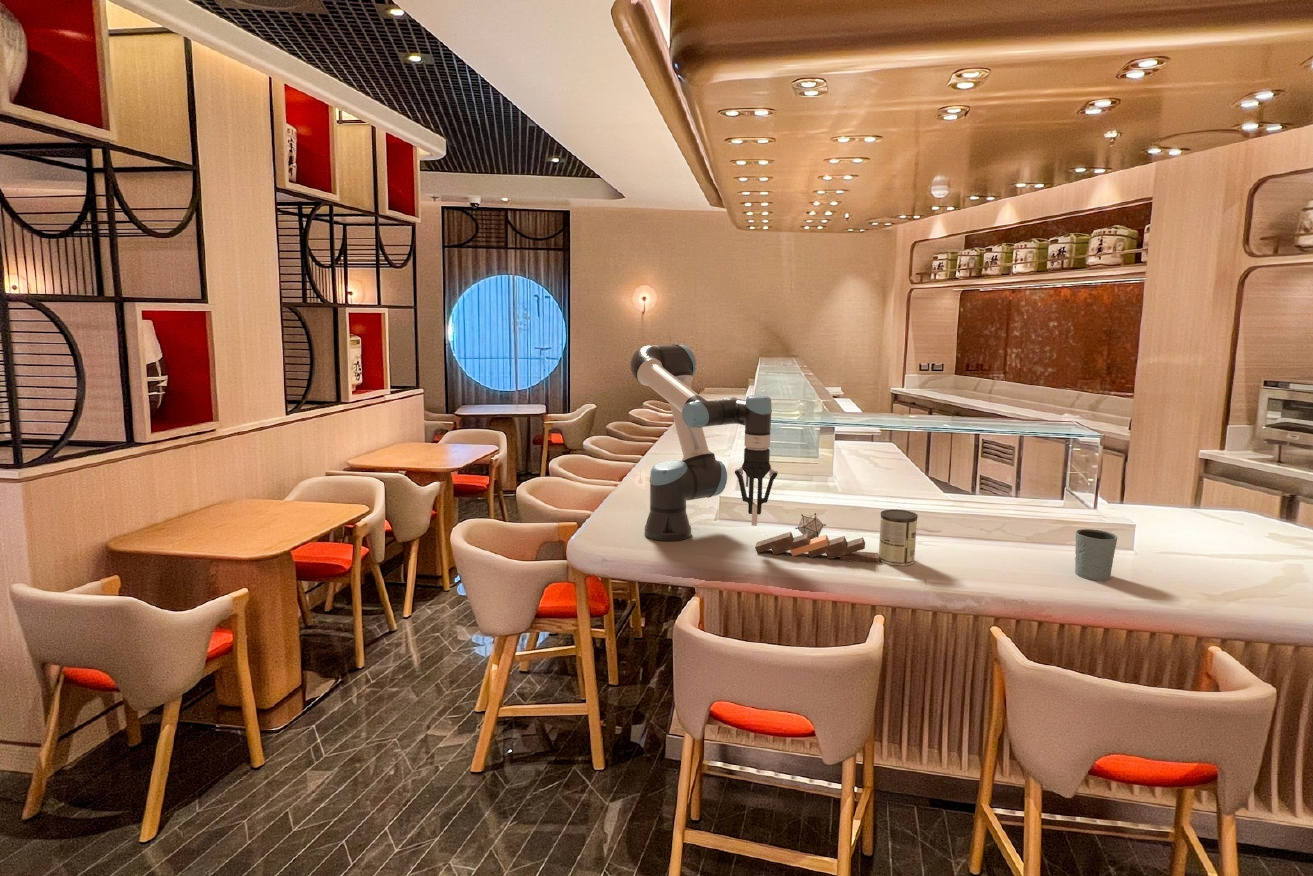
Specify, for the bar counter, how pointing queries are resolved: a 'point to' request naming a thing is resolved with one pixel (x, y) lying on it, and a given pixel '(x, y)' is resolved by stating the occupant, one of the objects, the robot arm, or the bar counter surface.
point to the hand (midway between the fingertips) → (754, 524)
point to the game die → (810, 526)
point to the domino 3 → (812, 545)
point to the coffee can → (897, 537)
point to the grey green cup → (1094, 554)
